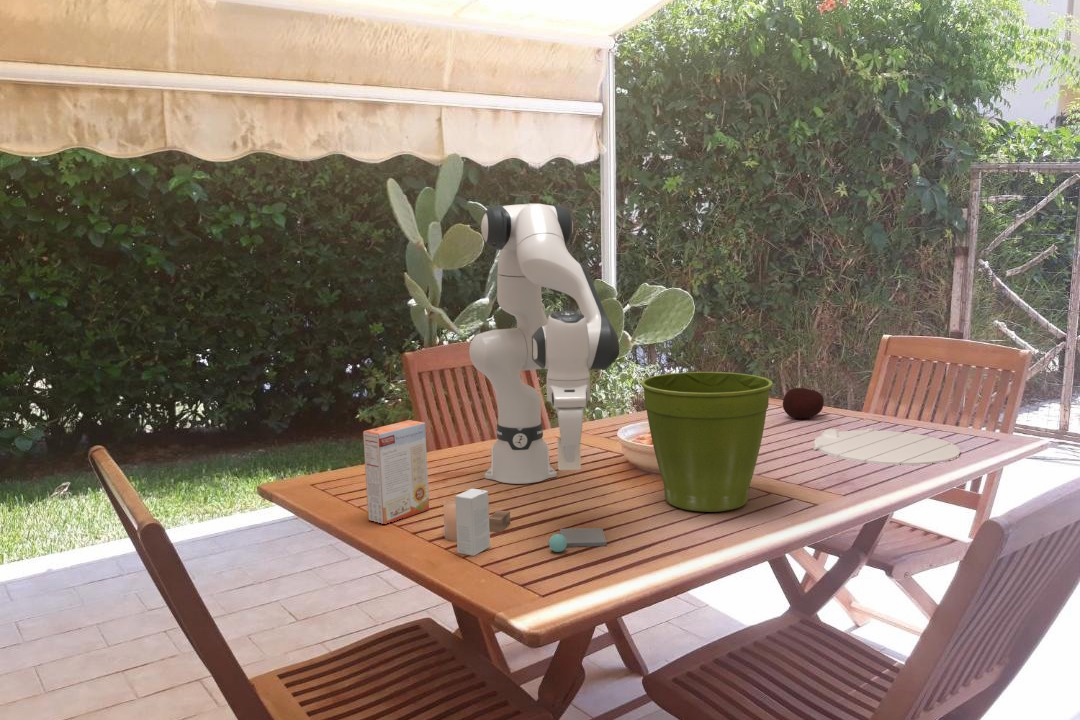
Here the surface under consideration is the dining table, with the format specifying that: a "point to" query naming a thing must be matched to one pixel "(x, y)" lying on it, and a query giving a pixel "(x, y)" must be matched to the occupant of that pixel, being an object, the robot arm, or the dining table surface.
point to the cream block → (562, 461)
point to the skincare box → (472, 521)
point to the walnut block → (499, 521)
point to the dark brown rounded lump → (802, 403)
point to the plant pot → (706, 435)
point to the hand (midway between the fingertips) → (569, 458)
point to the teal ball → (557, 542)
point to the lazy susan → (885, 447)
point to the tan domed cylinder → (450, 521)
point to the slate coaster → (584, 537)
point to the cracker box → (396, 471)
